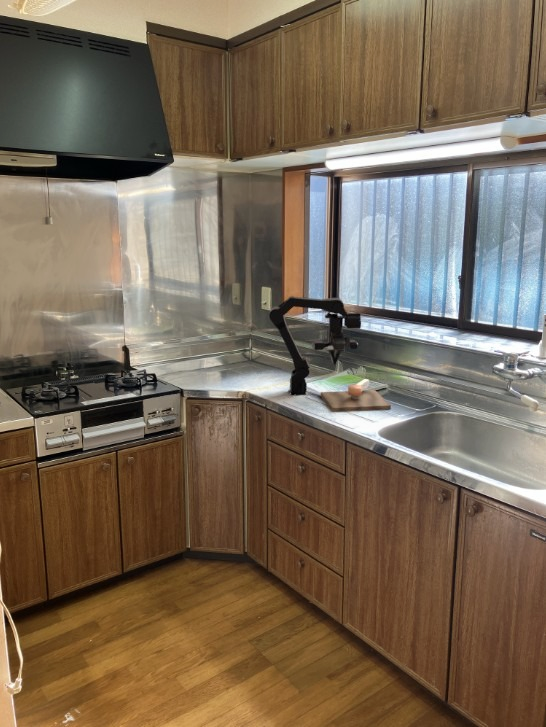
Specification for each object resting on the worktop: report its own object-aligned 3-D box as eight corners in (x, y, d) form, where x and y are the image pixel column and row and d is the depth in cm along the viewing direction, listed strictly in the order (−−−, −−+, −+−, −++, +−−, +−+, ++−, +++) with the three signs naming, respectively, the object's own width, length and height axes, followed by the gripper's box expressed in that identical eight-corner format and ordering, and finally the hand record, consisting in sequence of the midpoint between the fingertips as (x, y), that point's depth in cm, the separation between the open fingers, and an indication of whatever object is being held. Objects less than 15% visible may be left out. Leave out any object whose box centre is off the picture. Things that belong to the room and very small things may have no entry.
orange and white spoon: (358, 396, 242) (358, 389, 242) (345, 394, 245) (346, 387, 244) (372, 387, 256) (373, 380, 255) (360, 384, 258) (360, 378, 257)
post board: (332, 411, 236) (332, 403, 235) (320, 395, 255) (320, 388, 254) (390, 408, 239) (391, 401, 238) (374, 393, 258) (375, 386, 257)
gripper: (318, 333, 241) (317, 370, 245) (362, 332, 244) (361, 368, 248) (312, 327, 251) (311, 363, 255) (355, 326, 254) (353, 361, 258)
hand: (334, 364), depth 254 cm, fingers closed
